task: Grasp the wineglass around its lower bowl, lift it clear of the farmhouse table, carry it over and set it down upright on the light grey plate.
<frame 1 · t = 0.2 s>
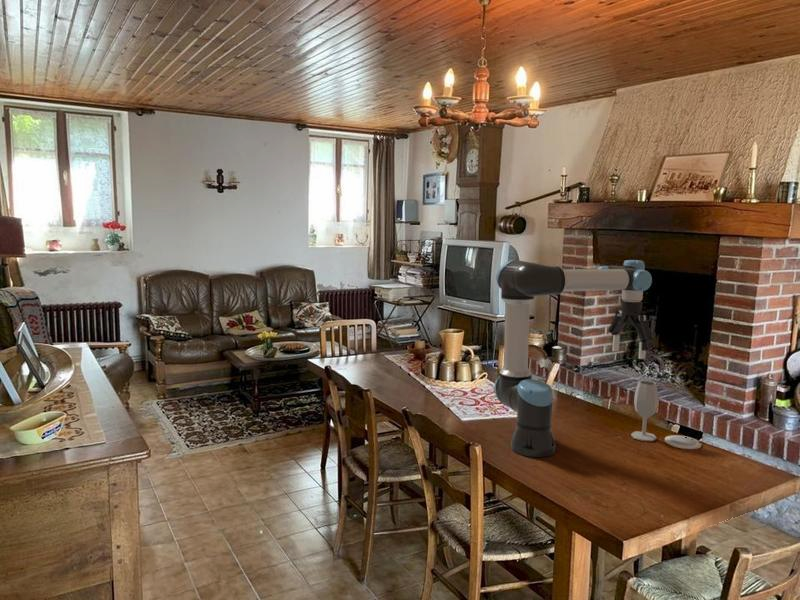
hand: (628, 354, 232), 28 cm above the table, fingers open, 13 cm apart
light grey plate: (682, 442, 215), on the table
wineglass: (643, 438, 220), on the table
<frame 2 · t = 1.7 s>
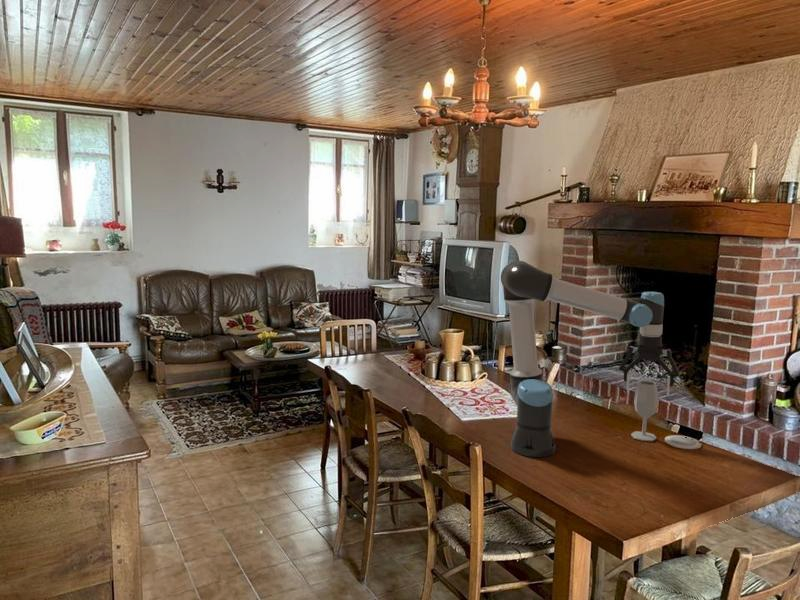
hand: (647, 392, 218), 17 cm above the table, fingers open, 13 cm apart
nothing on the table moved.
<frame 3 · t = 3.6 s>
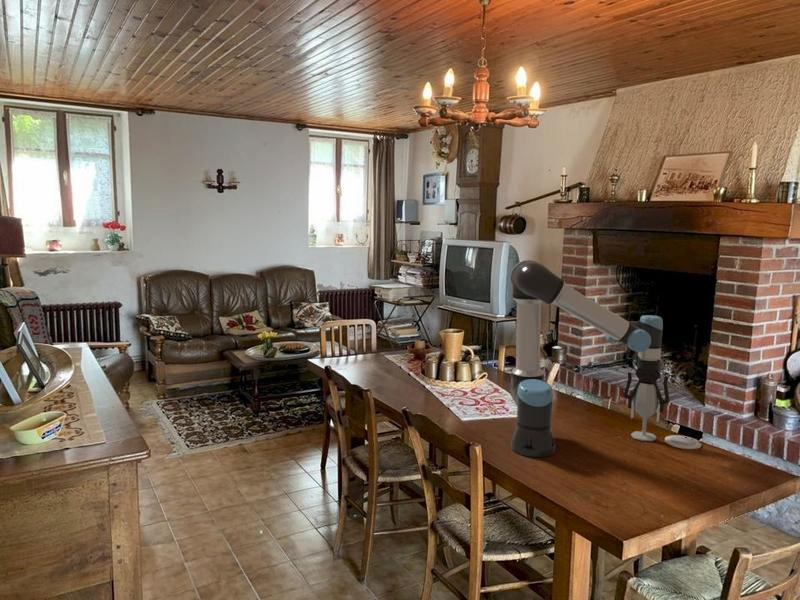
hand: (644, 418, 219), 7 cm above the table, fingers closed on wineglass, 8 cm apart
wineglass: (643, 438, 220), on the table, touching gripper
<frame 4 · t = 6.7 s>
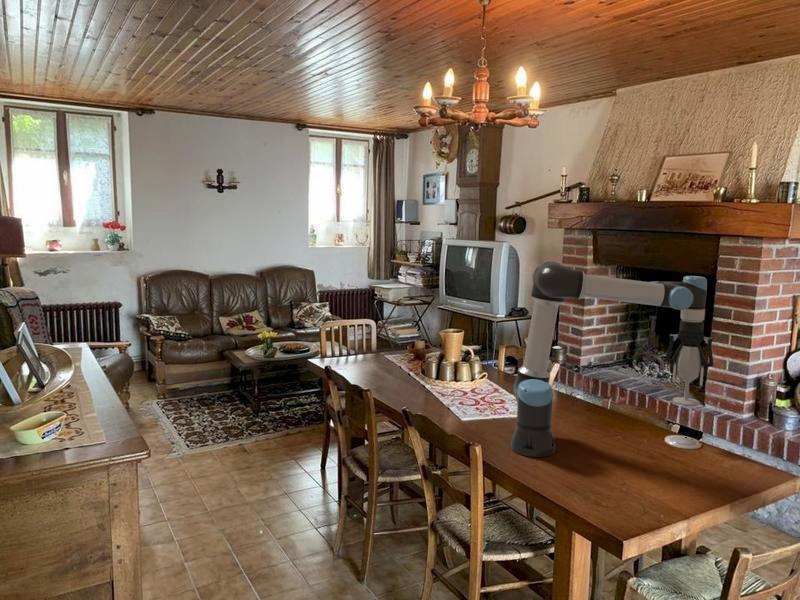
hand: (687, 383, 212), 22 cm above the table, fingers closed on wineglass, 8 cm apart
wineglass: (685, 403, 213), point 15 cm above the table, touching gripper
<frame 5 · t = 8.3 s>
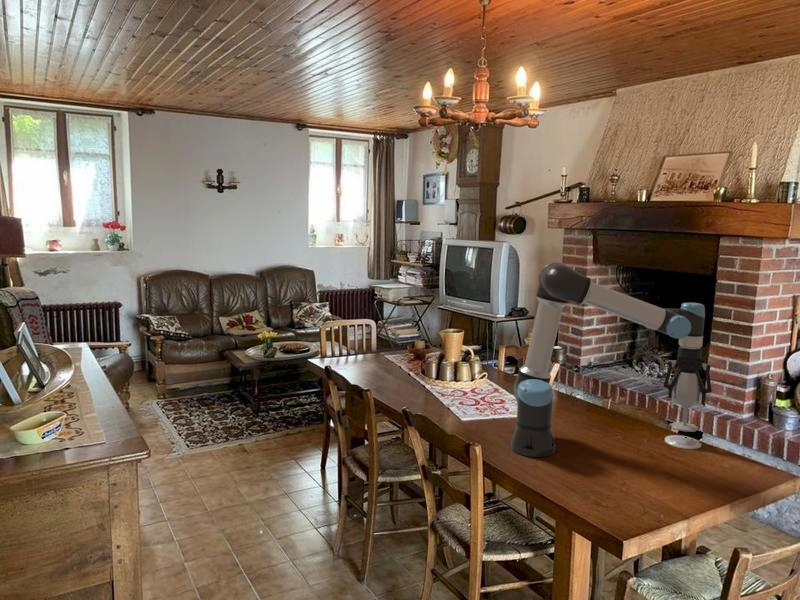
hand: (685, 408, 214), 13 cm above the table, fingers closed on wineglass, 8 cm apart
wineglass: (684, 428, 215), point 5 cm above the table, touching gripper
when the fingers open (9 cm above the table, at t = 9.9 s): wineglass stays where it is, resting on light grey plate.
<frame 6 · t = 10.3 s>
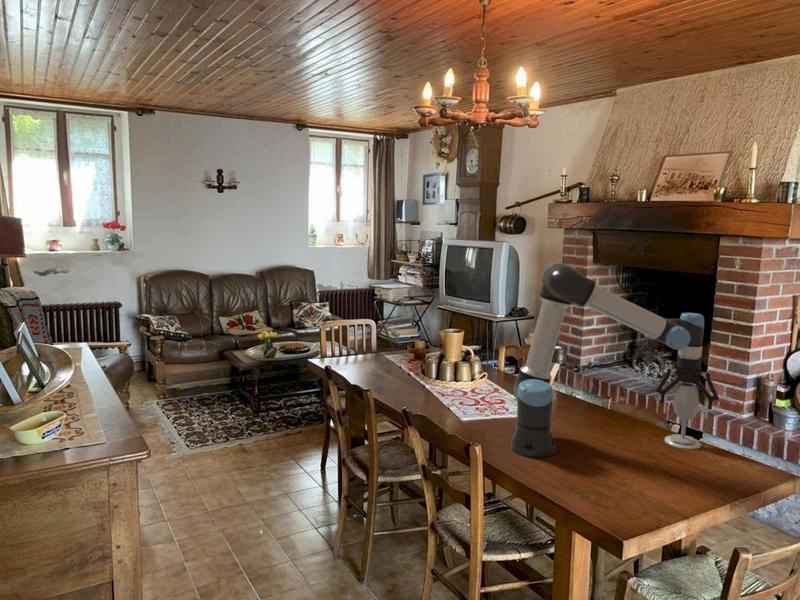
hand: (684, 415, 214), 10 cm above the table, fingers open, 13 cm apart
wineglass: (682, 441, 215), point 1 cm above the table, touching light grey plate
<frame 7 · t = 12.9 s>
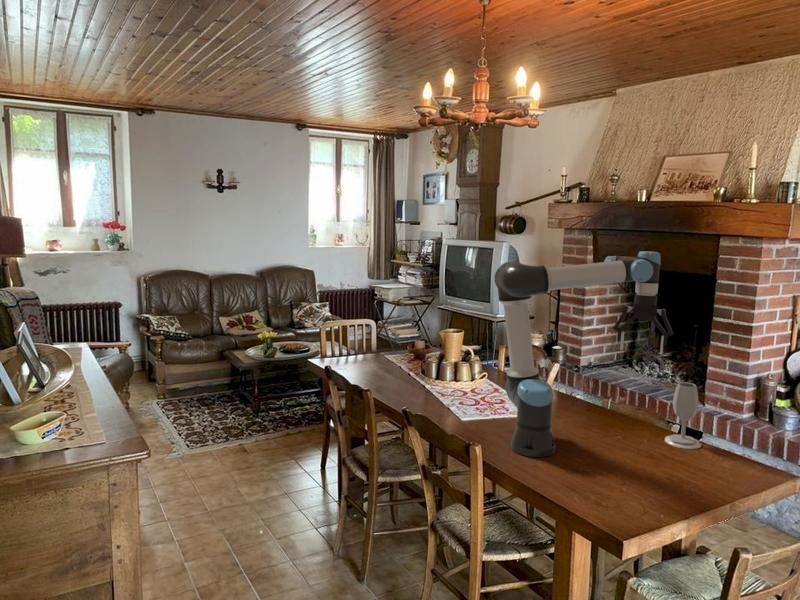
hand: (640, 351, 219), 32 cm above the table, fingers open, 13 cm apart
nothing on the table moved.
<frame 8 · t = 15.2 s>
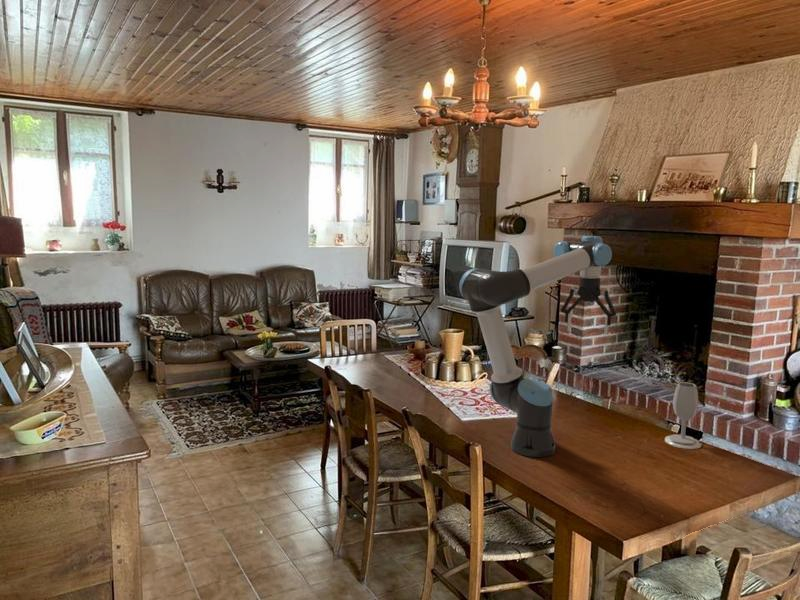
hand: (587, 332, 229), 37 cm above the table, fingers open, 13 cm apart
nothing on the table moved.
at the end: wineglass inside the target area on the light grey plate (0.1 cm from its centre), point 0.5 cm above the light grey plate's base; wineglass tilted 0°; the gripper is holding nothing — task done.
